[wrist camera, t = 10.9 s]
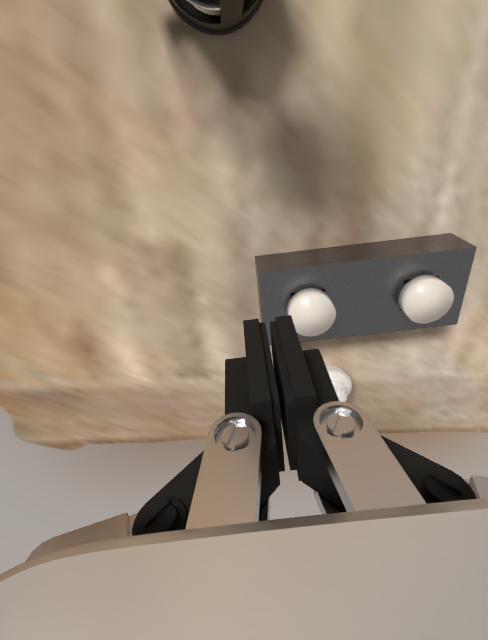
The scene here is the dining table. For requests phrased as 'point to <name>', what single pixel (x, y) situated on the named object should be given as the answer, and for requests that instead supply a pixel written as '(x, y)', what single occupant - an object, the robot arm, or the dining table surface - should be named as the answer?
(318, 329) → the knob
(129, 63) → the dining table surface
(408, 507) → the robot arm
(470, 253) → the mount
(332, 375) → the white ribbed round lump
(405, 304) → the knob
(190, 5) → the french press
